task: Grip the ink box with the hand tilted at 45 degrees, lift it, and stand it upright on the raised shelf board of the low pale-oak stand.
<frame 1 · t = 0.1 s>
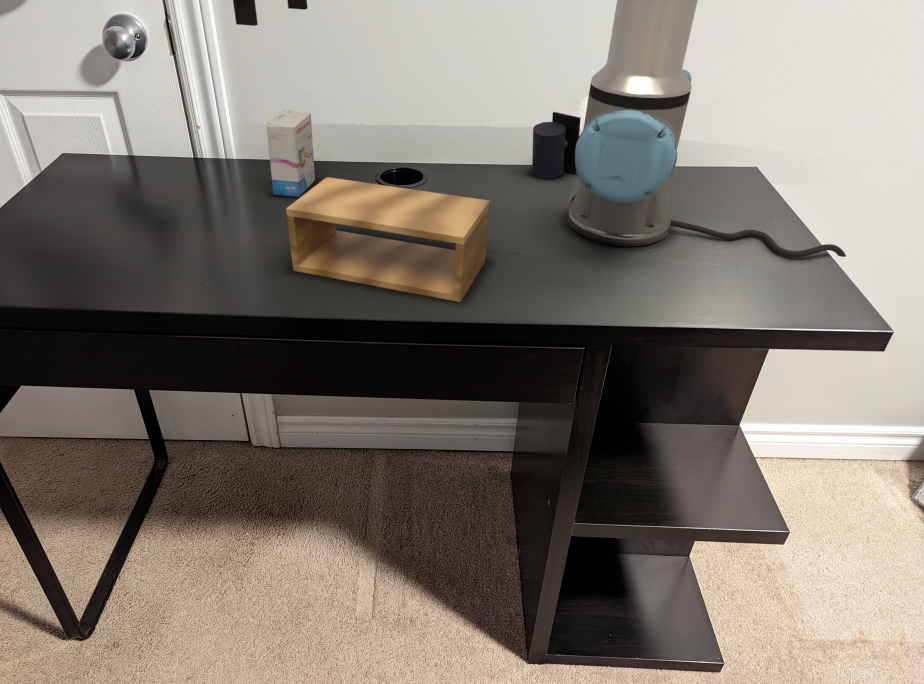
hand: (273, 16, 92), 28 cm above the table, tool pointing down, fingers open, 13 cm apart
ink box: (295, 188, 117), on the table
oak stand: (390, 266, 95), on the table
speaker: (550, 175, 123), on the table
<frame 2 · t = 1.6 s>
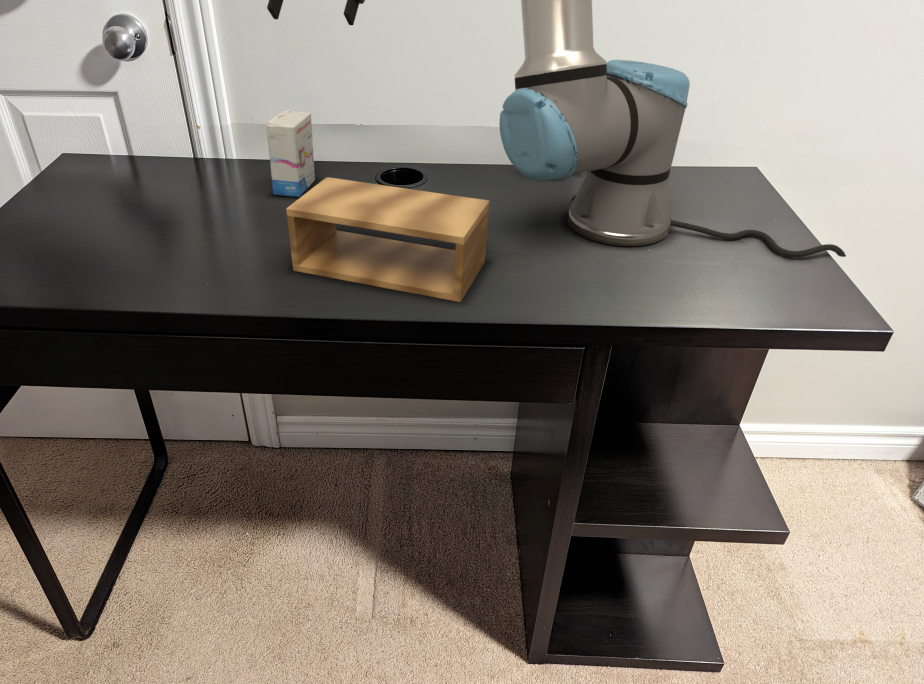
hand: (309, 16, 110), 25 cm above the table, tool tilted 45°, fingers open, 13 cm apart
nothing on the table moved.
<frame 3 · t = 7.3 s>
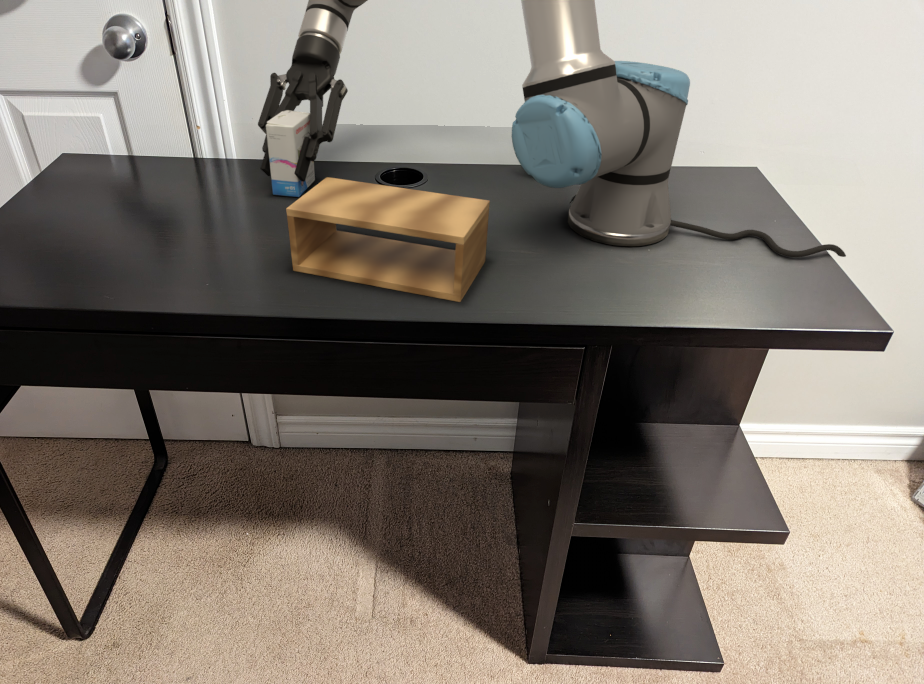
hand: (282, 174, 112), 4 cm above the table, tool tilted 45°, fingers closed on ink box, 5 cm apart
ink box: (295, 188, 117), on the table, touching gripper
everything else where it was.
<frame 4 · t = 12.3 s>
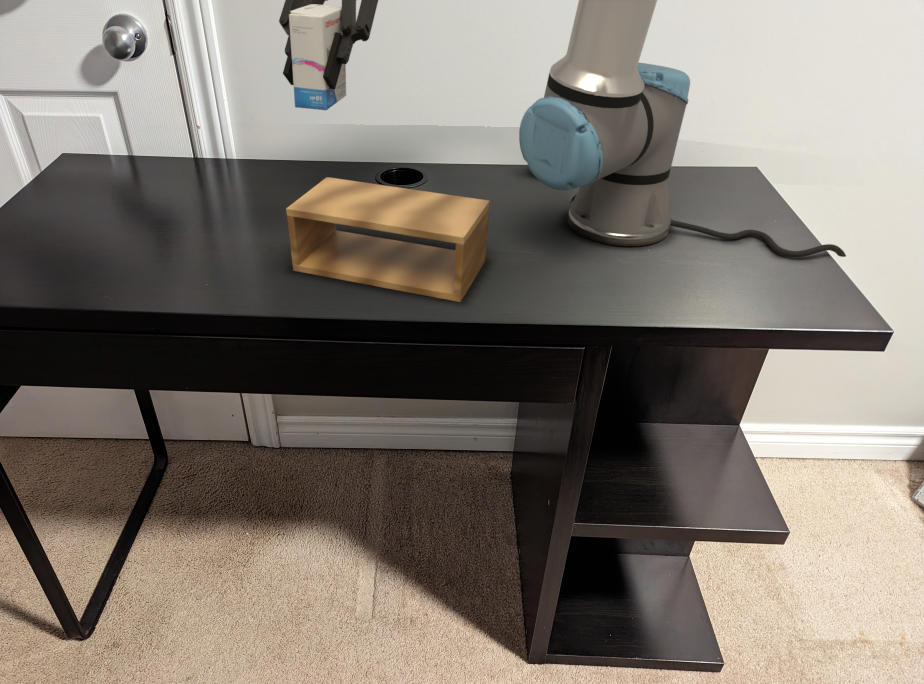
hand: (309, 81, 92), 21 cm above the table, tool tilted 45°, fingers closed on ink box, 5 cm apart
ink box: (322, 103, 97), point 17 cm above the table, touching gripper
everything else where it was.
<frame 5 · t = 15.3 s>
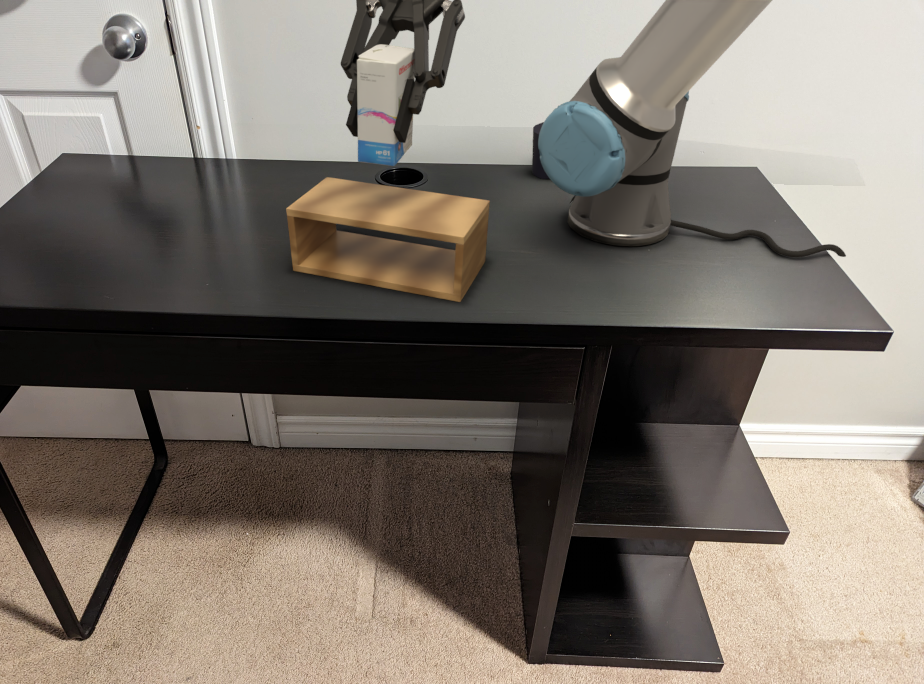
hand: (375, 133, 80), 19 cm above the table, tool tilted 45°, fingers closed on ink box, 5 cm apart
ink box: (386, 155, 85), point 15 cm above the table, touching gripper
everything else where it was.
when the fingers open (13 cm above the table, at t = 17.4 s): ink box stays where it is, resting on oak stand.
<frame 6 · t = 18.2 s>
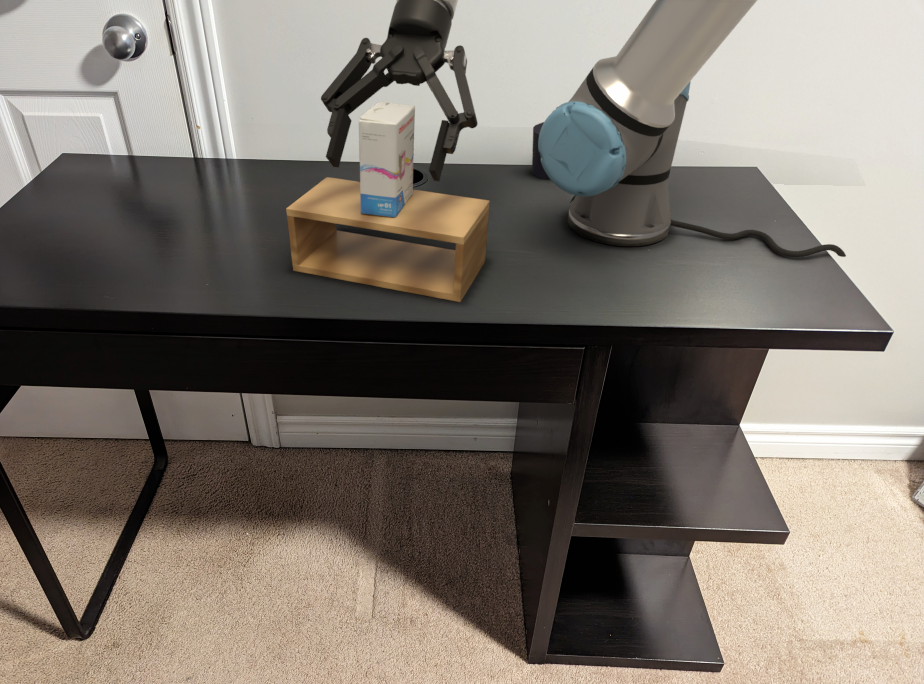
hand: (382, 169, 84), 14 cm above the table, tool tilted 45°, fingers open, 13 cm apart
ink box: (388, 205, 89), point 9 cm above the table, touching oak stand
everything else where it was.
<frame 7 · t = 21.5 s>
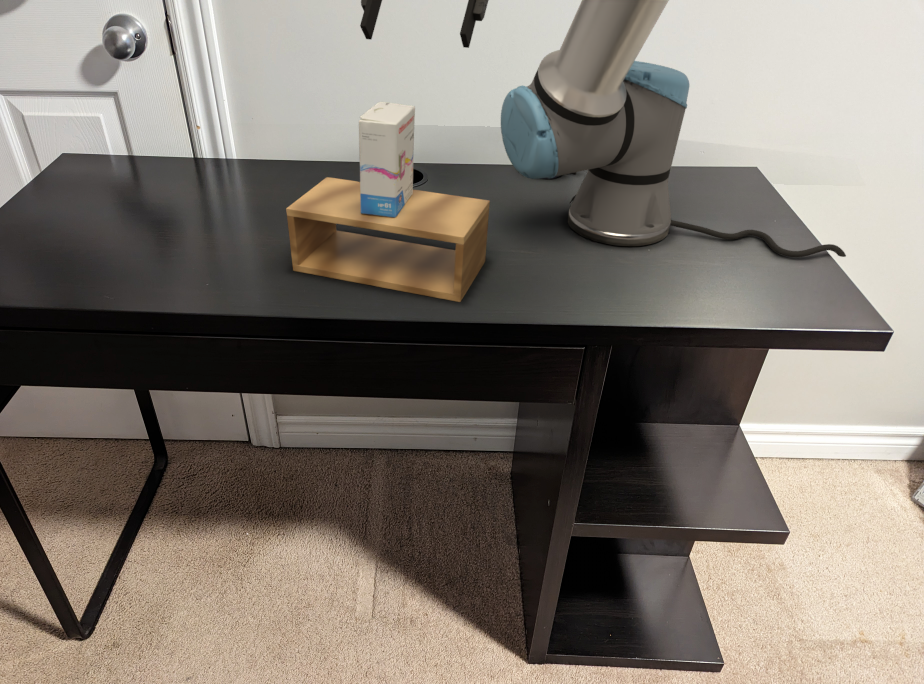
hand: (413, 37, 88), 27 cm above the table, tool tilted 45°, fingers open, 13 cm apart
nothing on the table moved.
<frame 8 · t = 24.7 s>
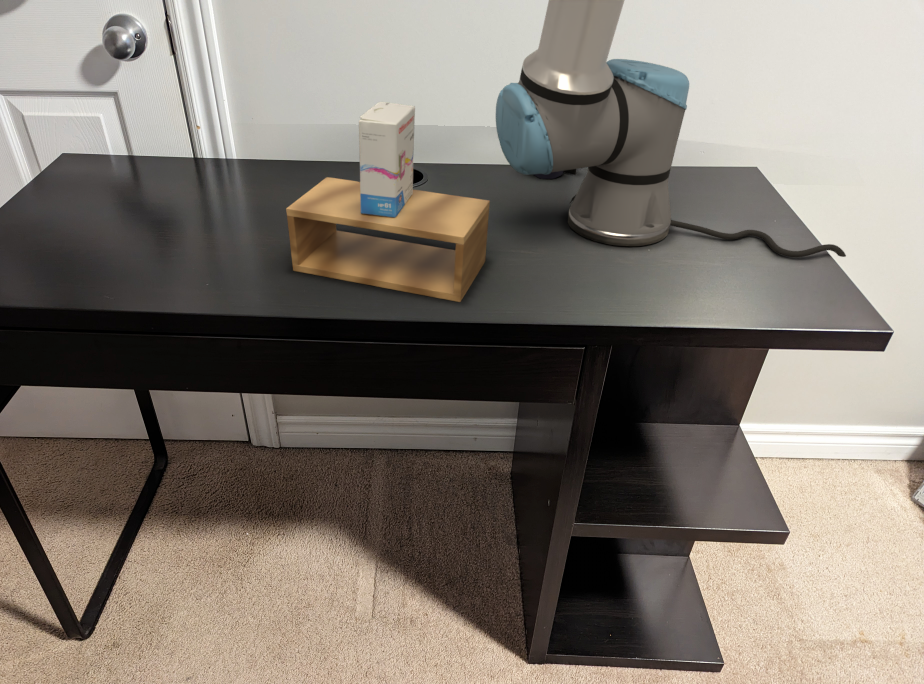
nothing on the table moved.
at the end: ink box inside the target area on the oak stand (0.2 cm from its centre), point 8.8 cm above the oak stand's base; ink box tilted 0°; the gripper is holding nothing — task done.
